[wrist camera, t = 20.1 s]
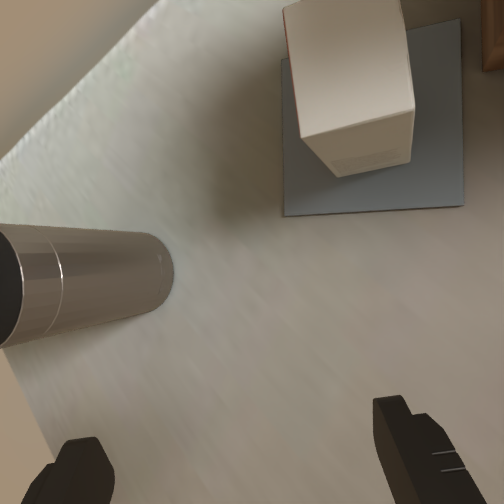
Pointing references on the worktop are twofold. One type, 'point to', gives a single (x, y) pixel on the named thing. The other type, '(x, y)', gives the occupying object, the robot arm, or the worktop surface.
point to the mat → (422, 151)
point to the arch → (492, 34)
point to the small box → (351, 82)
